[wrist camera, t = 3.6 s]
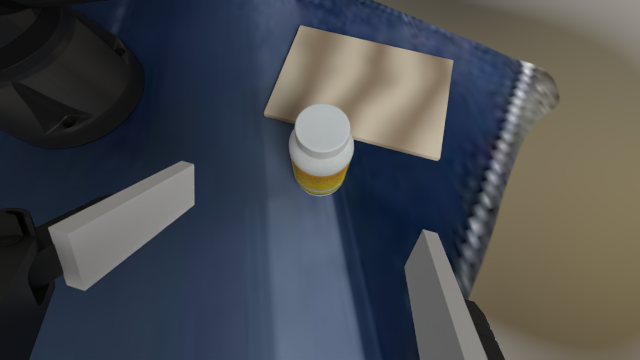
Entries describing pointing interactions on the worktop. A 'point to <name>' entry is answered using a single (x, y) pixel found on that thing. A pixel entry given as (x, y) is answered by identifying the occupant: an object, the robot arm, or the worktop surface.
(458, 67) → the worktop surface
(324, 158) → the supplement bottle
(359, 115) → the birch board
